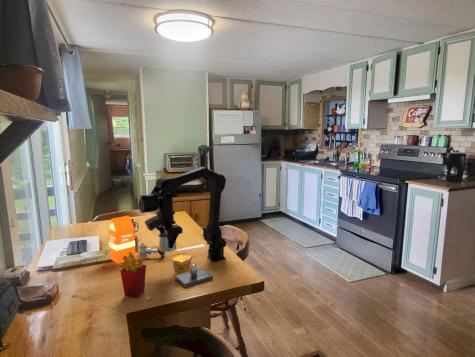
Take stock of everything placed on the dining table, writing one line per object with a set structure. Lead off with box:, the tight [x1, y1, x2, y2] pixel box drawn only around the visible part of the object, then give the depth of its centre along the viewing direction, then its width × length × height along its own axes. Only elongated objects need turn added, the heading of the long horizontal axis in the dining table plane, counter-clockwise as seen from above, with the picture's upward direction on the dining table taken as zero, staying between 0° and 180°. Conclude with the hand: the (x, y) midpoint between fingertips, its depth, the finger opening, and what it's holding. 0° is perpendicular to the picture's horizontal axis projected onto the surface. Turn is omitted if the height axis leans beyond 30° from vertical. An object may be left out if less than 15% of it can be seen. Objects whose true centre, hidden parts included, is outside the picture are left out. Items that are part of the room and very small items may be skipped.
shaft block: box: [174, 263, 214, 288], centre depth 120 cm, size 12×9×6 cm
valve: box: [137, 242, 166, 258], centre depth 142 cm, size 7×7×12 cm
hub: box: [157, 233, 177, 253], centre depth 124 cm, size 7×7×6 cm
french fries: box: [117, 252, 147, 299], centre depth 107 cm, size 9×8×15 cm
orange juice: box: [108, 215, 137, 264], centre depth 140 cm, size 8×9×20 cm
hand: (167, 245), depth 124 cm, fingers closed on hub, 7 cm apart
